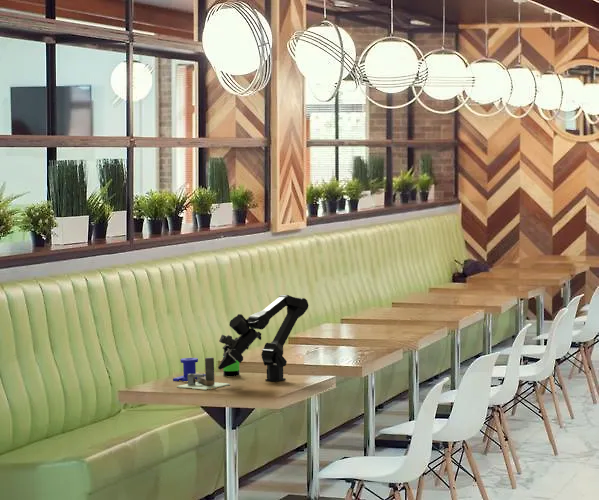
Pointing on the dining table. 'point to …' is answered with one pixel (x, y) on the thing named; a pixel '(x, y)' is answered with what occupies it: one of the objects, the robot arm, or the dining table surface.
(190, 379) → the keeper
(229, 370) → the bottle
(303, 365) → the dining table surface
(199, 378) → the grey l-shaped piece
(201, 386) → the plate
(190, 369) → the mount
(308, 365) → the dining table surface
